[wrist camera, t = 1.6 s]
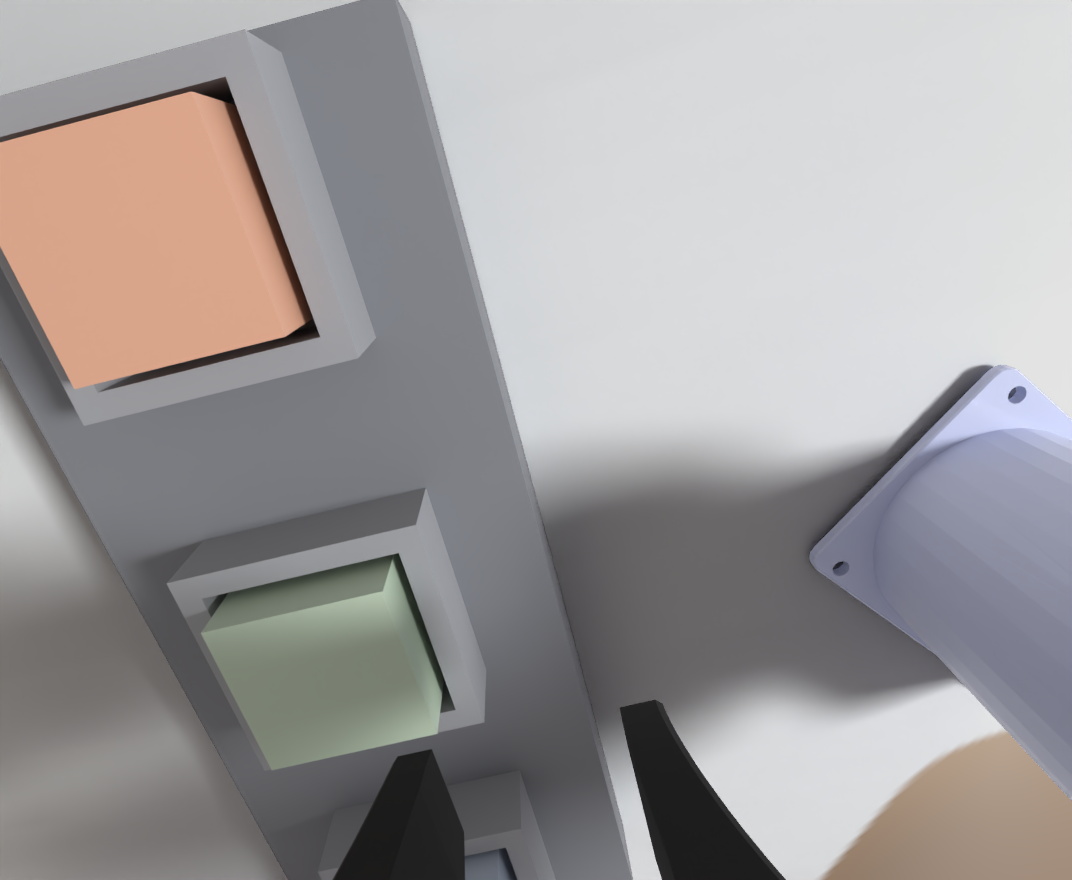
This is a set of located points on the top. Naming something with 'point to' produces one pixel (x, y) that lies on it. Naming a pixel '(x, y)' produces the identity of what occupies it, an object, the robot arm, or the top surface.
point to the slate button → (489, 866)
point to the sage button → (329, 661)
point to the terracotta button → (147, 238)
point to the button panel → (339, 448)
